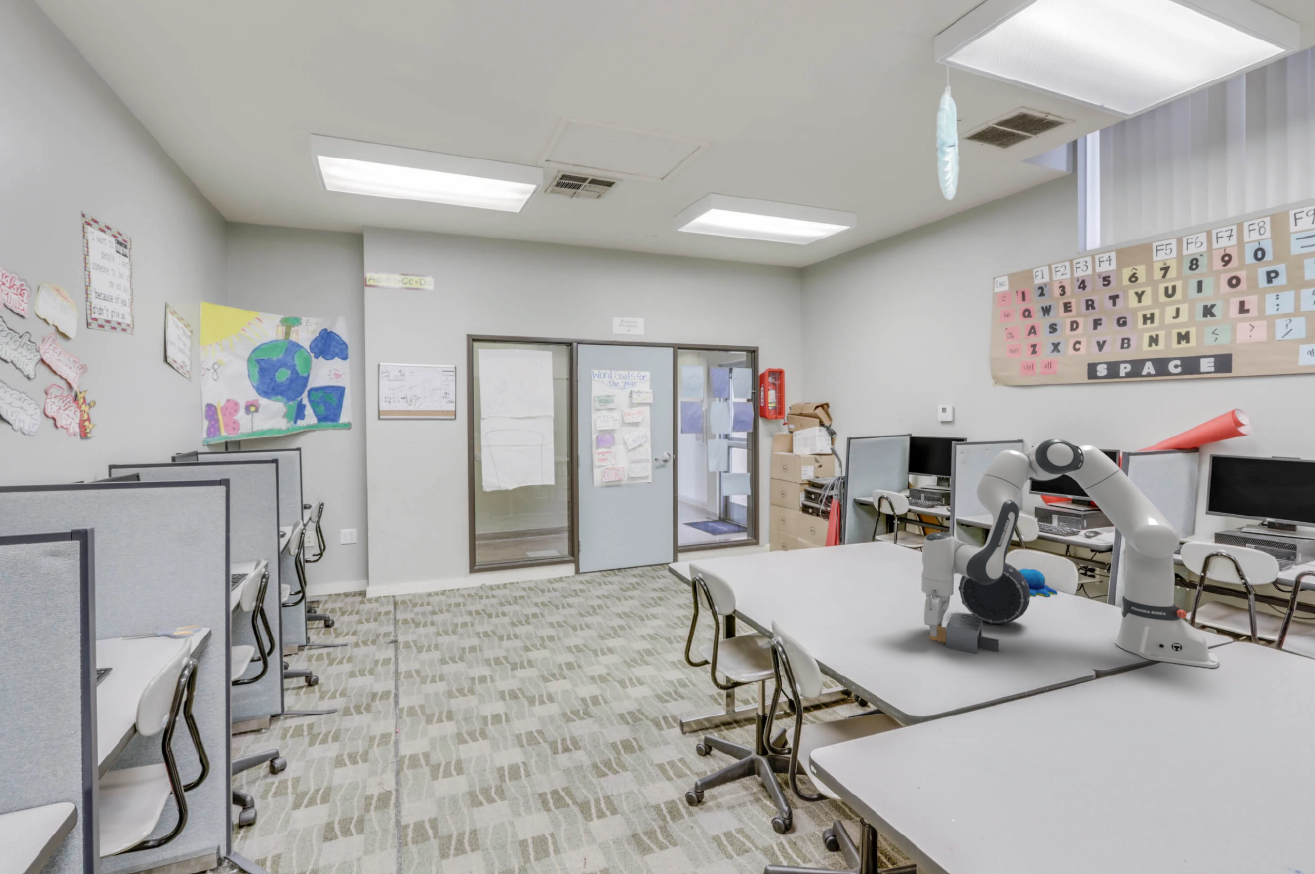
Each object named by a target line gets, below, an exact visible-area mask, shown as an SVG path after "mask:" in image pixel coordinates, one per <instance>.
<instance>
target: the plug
mask: <svg viewBox="0 0 1315 874" xmlns="http://www.w3.org/2000/svg"><path fill="white" fill-rule="evenodd" d="M946 629H947V626H943V625H942V626H937V630H938V632H937V636H936V637H934V636H931V635H930V634H929V640H931V639H932V641H936V640H937V642H941V641H942V643H946ZM999 647H1000V639H998V638H992V637H987V636H983V635H982V636H979V641H978V649H980V648H981V650H985V649H986V651H991V652H996V653H999V649H1000V648H999Z"/></svg>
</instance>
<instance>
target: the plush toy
mask: <svg viewBox="0 0 1315 874" xmlns="http://www.w3.org/2000/svg"><path fill="white" fill-rule="evenodd" d="M1017 570H1018V571H1019V572H1020V573H1021V574H1022V575H1023V576H1024V578H1025V579H1026V581H1027V583H1028V586H1029V589H1030V597H1033V598H1035V597H1037V595H1038V596H1041V597H1045V598H1050V597H1051V595H1055V594H1056V595H1058V591H1057V590H1056V589H1054V588H1051V587H1049V585H1047V584H1046V578H1045V576H1044V574H1043V573H1042V572H1041V571H1040V570H1038V569H1033V568H1032V569H1031V568H1030V569H1029V568H1021V569H1017Z"/></svg>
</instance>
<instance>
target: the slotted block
mask: <svg viewBox="0 0 1315 874" xmlns="http://www.w3.org/2000/svg"><path fill="white" fill-rule="evenodd" d="M983 622H984V620H983V619H980V618H976V617H974V616H969V615H968V616H967V615H963V614H956V613H953V614H952V615H951V617H950V619H949V621H948V623H947V624H946V627H947V629H946V642H945V648H947V649H951V648H952V649H951V650H956V649H957V651H960V652H961V651H962V652H966V653H967V652H968V653H970V654H971V653H972V654H978V652H979V648H978V641H979V636H983Z"/></svg>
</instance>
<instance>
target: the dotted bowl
mask: <svg viewBox="0 0 1315 874" xmlns="http://www.w3.org/2000/svg"><path fill="white" fill-rule="evenodd" d="M1018 570H1019V569H1017V568H1016V567H1014V566H1013V565H1011V564H1009V563H1007V562H1005V568H1004V572H1003V575H1002V576H1001V578H1000V579H999V580H997V581H996V582H994V583H993V584H990V585H982V584H980V583H978V582H976V581H974V580H972V579H971V578H968V577H965V576H963V575H961V579H960V582H959V586H958V591H959V595H960V598H961V603H962V604H961V605H963V606H965V608H966V609H967V610H968V611H969V612H970V613H971V614H972V617H974V618H980V619H983V622H987V623H988V624H990V625H994V624H999V625H1000V624H1011V623H1012V622H1014V621H1016V620H1017V619H1019V618H1020V617H1022V616H1023V615H1025V612H1026V611H1027V609H1028V607H1029V605H1030V597H1031V596H1030V589H1029V586H1028V583H1027V581H1026V579H1025V578H1024V576H1023V575H1022V574H1021V573H1020V572H1019V571H1018Z"/></svg>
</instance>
